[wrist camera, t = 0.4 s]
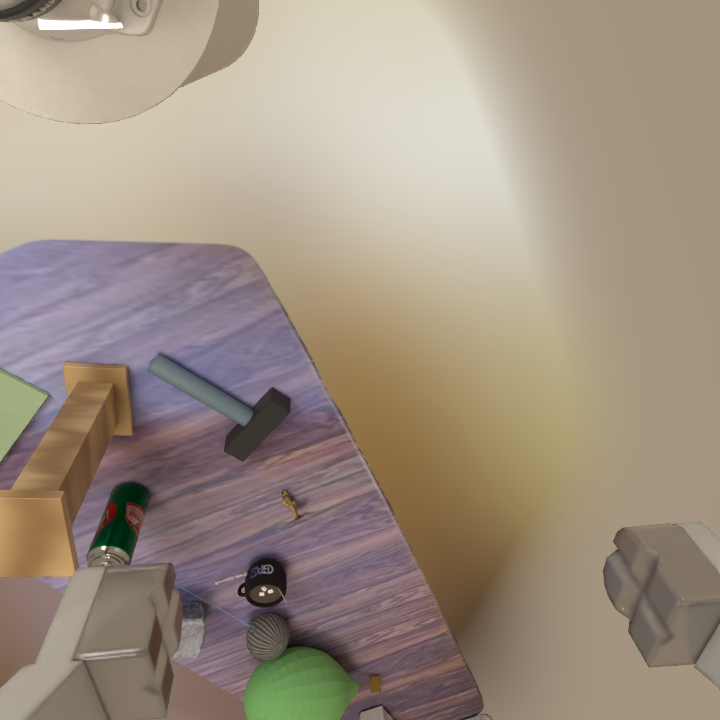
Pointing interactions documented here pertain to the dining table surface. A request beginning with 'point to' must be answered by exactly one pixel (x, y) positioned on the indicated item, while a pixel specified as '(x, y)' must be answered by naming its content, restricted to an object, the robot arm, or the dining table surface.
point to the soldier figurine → (291, 506)
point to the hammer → (228, 407)
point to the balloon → (301, 687)
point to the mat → (16, 408)
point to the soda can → (119, 527)
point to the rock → (191, 630)
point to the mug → (263, 583)
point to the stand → (63, 472)
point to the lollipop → (266, 636)
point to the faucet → (378, 716)
